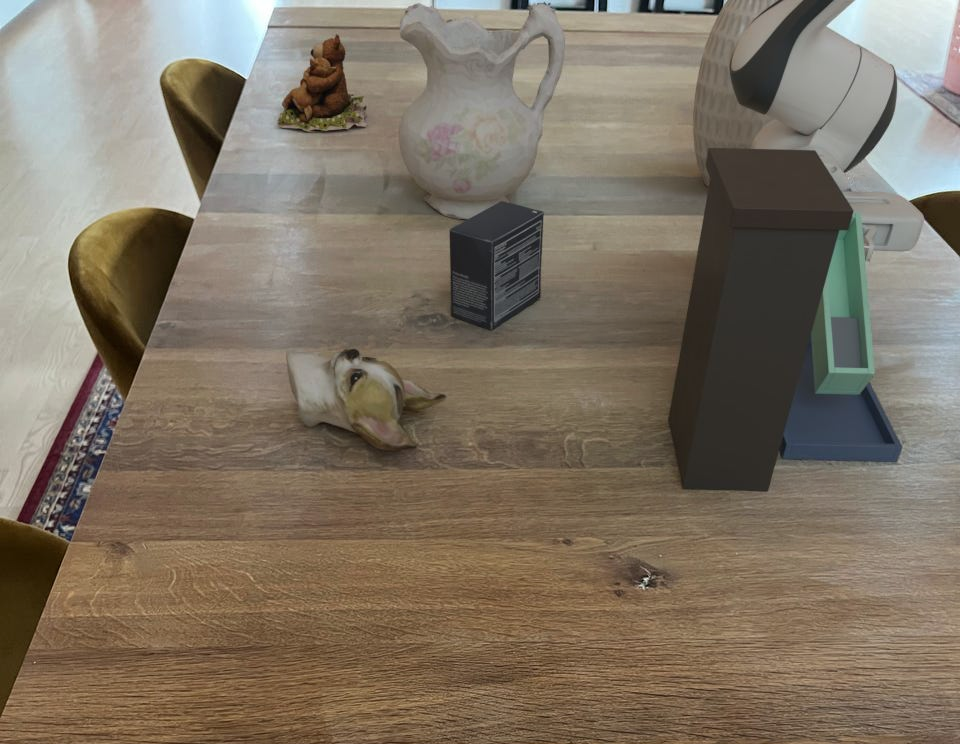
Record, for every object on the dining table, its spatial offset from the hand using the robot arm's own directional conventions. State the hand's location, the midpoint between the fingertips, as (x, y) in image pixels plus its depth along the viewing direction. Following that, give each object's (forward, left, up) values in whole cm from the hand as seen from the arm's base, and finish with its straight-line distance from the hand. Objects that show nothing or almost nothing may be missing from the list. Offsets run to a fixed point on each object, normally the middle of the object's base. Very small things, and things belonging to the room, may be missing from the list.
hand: (836, 252), depth 97 cm
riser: (+12, +16, -13) cm, 24 cm away
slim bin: (0, +3, -5) cm, 6 cm away
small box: (+34, -14, -13) cm, 39 cm away
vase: (0, -56, -13) cm, 57 cm away
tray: (0, +5, -13) cm, 14 cm away
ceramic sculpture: (+47, +13, -13) cm, 51 cm away
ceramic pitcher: (+37, -46, -13) cm, 60 cm away
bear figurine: (+64, -81, -13) cm, 104 cm away
